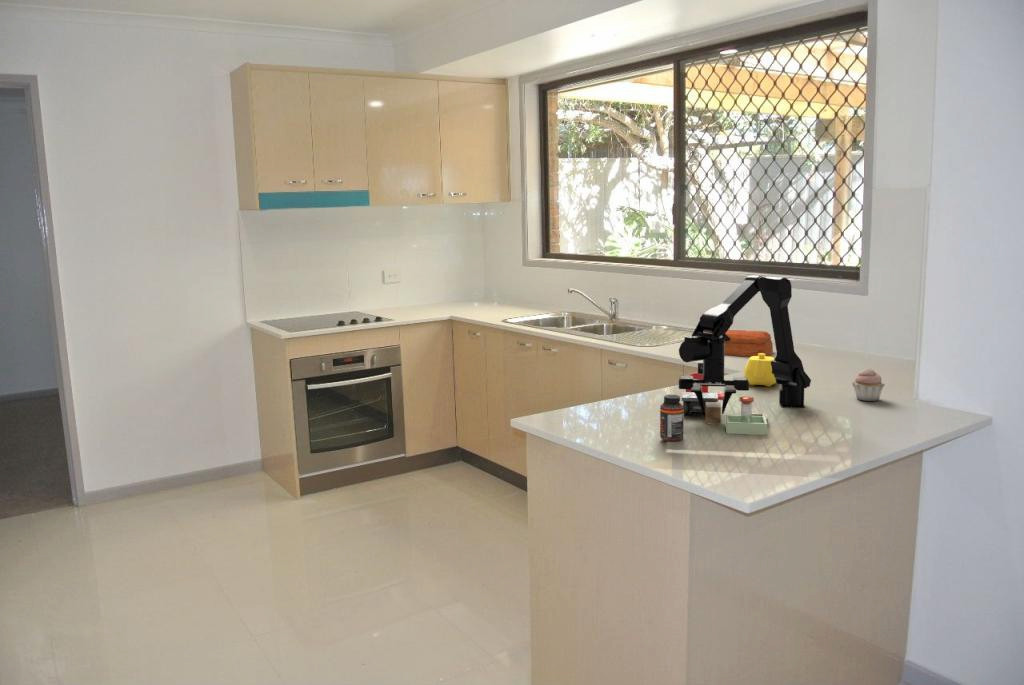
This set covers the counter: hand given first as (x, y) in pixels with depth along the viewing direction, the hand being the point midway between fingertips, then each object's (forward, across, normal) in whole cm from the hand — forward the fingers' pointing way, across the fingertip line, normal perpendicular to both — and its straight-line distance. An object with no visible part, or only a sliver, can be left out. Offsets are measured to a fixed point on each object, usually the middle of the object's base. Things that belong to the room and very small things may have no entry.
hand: (713, 413), depth 225 cm
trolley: (+2, +4, -8) cm, 9 cm away
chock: (+2, 0, 0) cm, 2 cm away
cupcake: (+2, -46, -33) cm, 57 cm away
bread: (+3, -11, -106) cm, 107 cm away
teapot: (+2, -16, -50) cm, 52 cm away
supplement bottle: (+2, +11, +20) cm, 22 cm away
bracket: (+3, +2, -29) cm, 29 cm away
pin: (+2, -8, +9) cm, 12 cm away
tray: (+2, -8, +9) cm, 12 cm away
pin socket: (+2, -11, +1) cm, 12 cm away
